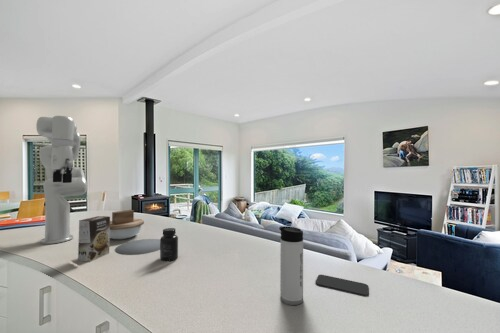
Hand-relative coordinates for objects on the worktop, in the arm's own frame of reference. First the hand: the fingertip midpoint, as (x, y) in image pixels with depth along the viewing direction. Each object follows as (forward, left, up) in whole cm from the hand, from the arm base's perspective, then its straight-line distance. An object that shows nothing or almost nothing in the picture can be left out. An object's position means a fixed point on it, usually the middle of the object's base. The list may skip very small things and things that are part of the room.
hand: (62, 182), depth 102 cm
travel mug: (+101, +21, -30) cm, 107 cm away
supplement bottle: (+49, +20, -30) cm, 61 cm away
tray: (+27, +22, -30) cm, 46 cm away
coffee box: (+22, +4, -30) cm, 38 cm away
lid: (+5, +25, -23) cm, 34 cm away
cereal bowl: (+5, +25, -30) cm, 40 cm away
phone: (+111, +37, -31) cm, 121 cm away
